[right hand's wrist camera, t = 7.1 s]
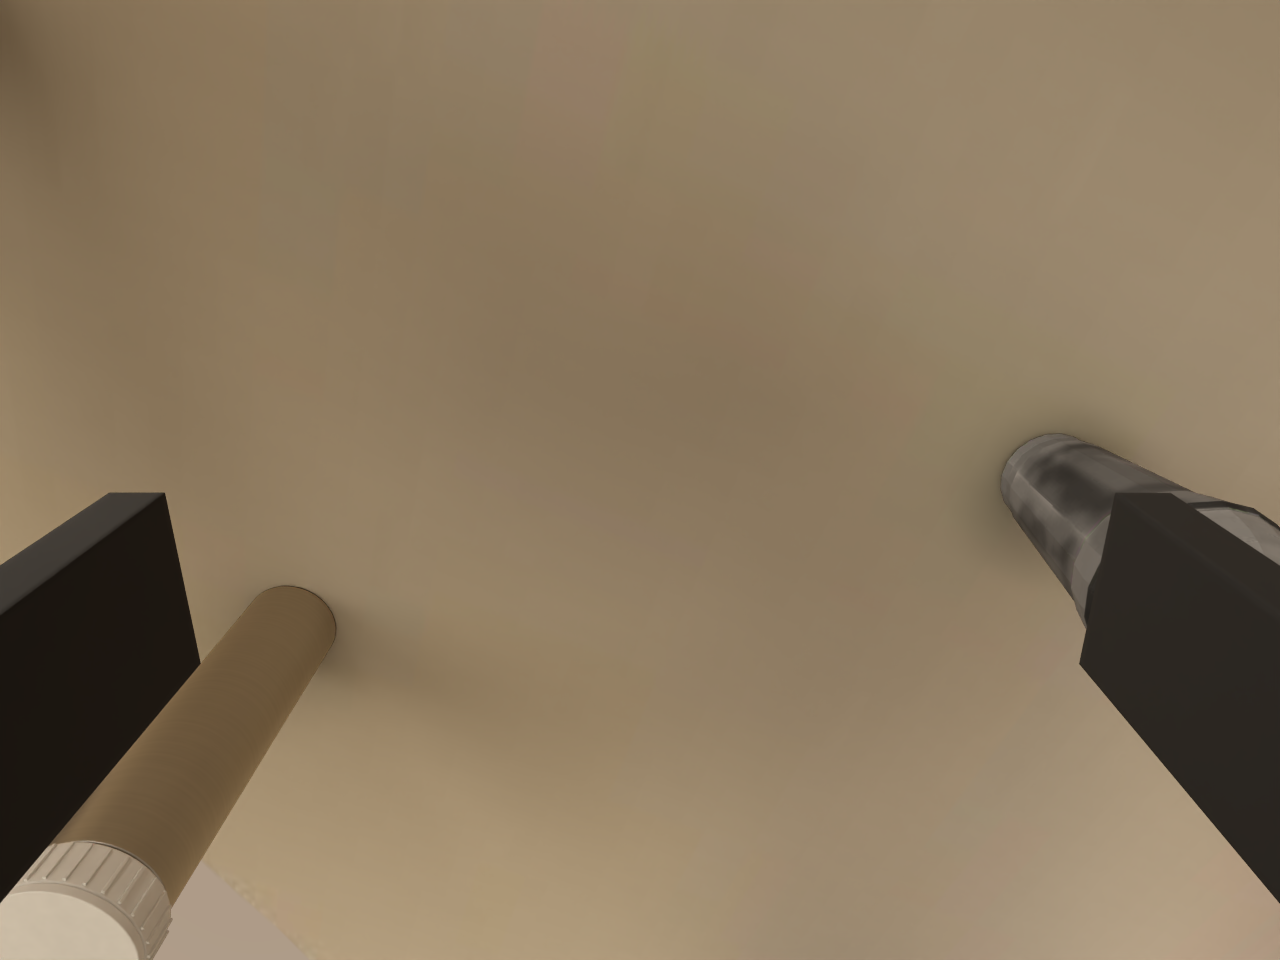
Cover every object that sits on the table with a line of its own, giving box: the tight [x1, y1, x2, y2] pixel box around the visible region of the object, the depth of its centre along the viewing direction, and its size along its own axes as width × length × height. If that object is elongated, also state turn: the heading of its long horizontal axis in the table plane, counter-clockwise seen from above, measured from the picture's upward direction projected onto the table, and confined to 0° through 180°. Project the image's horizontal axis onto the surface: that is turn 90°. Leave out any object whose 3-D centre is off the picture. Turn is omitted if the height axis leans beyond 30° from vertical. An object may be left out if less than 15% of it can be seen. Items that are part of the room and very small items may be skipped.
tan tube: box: [48, 586, 336, 907], centre depth 36 cm, size 4×4×19 cm
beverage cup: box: [1001, 434, 1280, 629], centre depth 32 cm, size 7×7×20 cm
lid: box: [0, 842, 172, 960], centre depth 28 cm, size 5×5×2 cm
